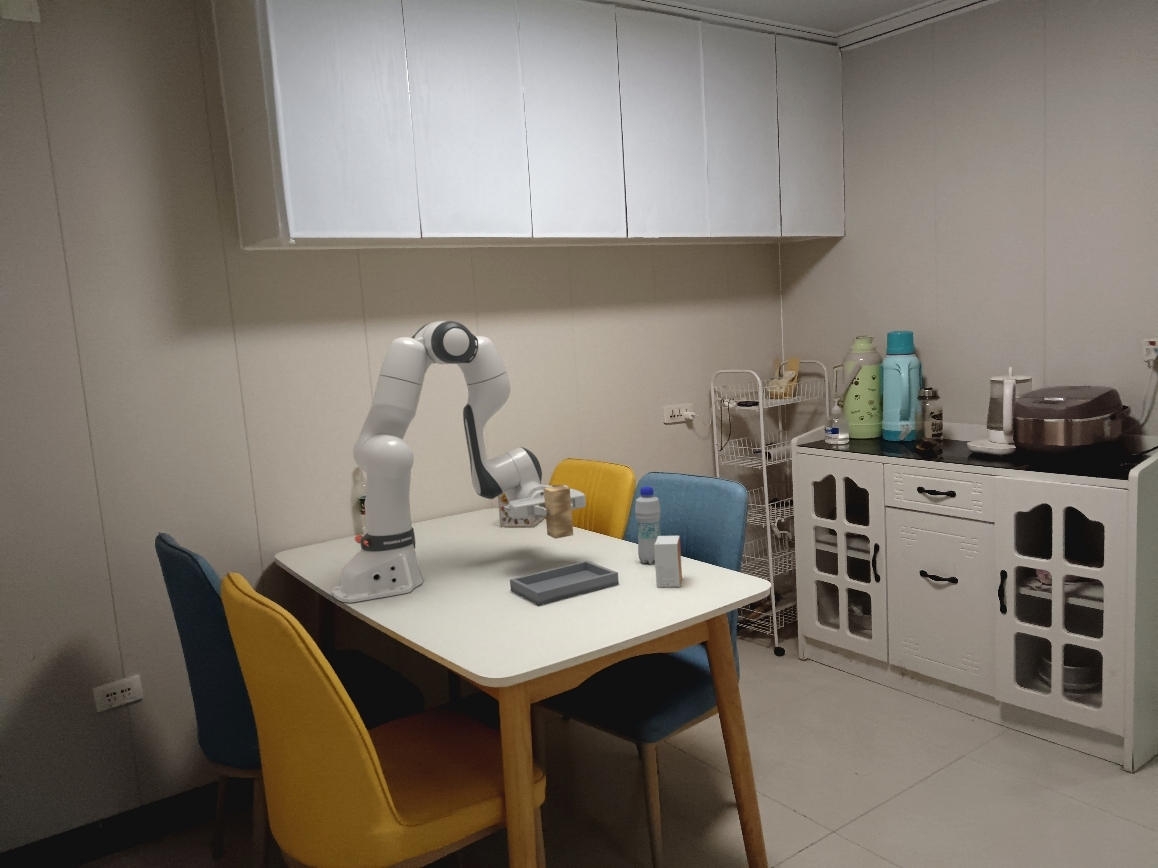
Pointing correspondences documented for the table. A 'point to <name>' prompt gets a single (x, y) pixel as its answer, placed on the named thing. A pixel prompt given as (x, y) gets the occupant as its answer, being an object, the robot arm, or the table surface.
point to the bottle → (647, 523)
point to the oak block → (558, 511)
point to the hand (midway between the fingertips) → (559, 510)
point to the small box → (668, 561)
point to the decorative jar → (510, 521)
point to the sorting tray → (563, 582)
